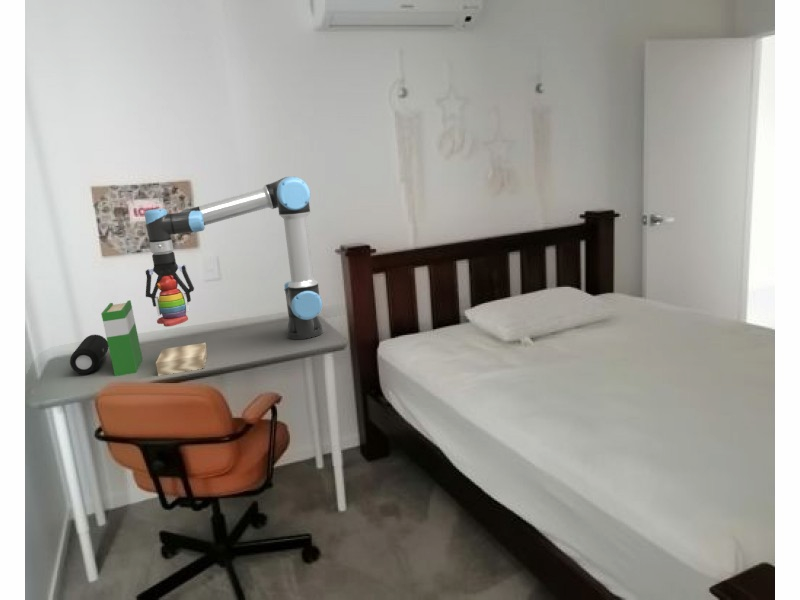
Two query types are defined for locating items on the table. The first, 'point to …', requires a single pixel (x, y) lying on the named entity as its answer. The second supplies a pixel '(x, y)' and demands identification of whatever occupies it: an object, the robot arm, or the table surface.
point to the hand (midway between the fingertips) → (173, 312)
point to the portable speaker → (89, 354)
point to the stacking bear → (171, 302)
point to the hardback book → (122, 338)
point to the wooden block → (181, 359)
